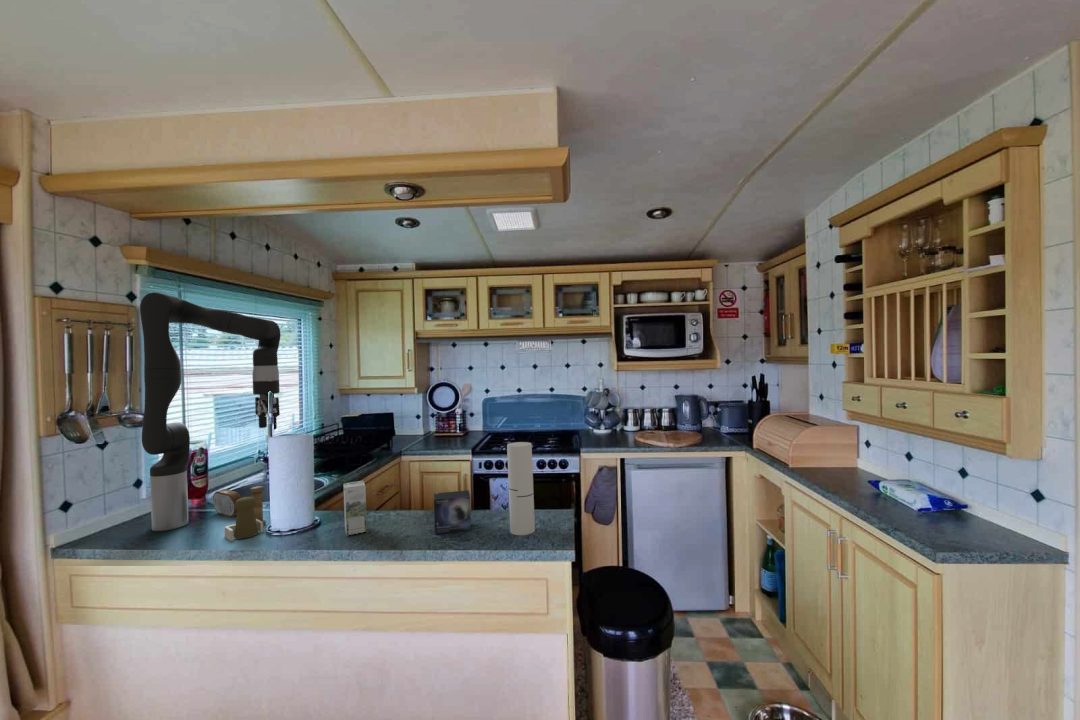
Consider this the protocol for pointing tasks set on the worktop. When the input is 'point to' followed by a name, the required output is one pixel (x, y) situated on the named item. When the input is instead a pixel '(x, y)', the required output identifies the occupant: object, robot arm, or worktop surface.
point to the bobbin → (258, 502)
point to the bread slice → (226, 502)
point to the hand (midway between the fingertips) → (267, 428)
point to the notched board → (231, 530)
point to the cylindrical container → (520, 488)
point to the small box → (452, 512)
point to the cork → (245, 518)
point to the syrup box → (355, 508)
